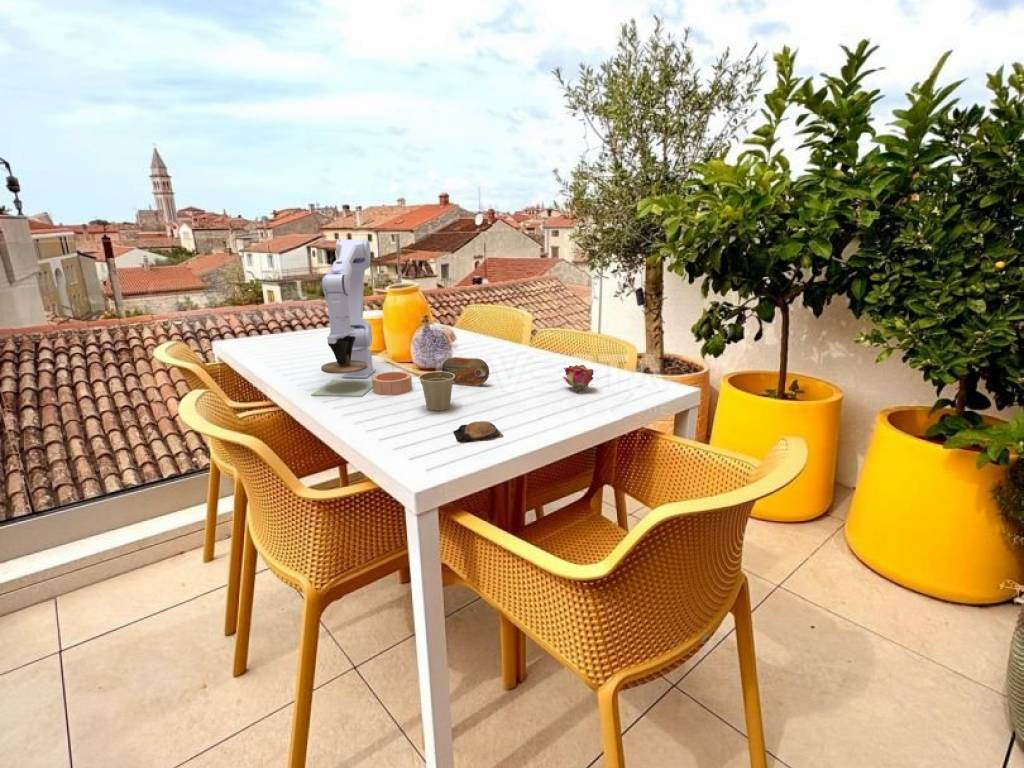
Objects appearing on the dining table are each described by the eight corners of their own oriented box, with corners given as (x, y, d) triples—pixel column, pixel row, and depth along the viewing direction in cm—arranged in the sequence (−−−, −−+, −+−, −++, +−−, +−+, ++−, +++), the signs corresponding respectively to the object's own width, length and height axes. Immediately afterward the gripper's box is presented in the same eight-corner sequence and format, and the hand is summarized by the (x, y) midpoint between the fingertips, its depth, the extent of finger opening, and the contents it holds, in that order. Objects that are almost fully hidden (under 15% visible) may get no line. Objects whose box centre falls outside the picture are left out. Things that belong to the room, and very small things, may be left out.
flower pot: (449, 414, 126) (448, 382, 124) (415, 412, 128) (413, 380, 126) (460, 402, 135) (459, 372, 133) (428, 400, 137) (426, 370, 135)
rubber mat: (333, 381, 156) (332, 379, 156) (379, 381, 155) (379, 380, 155) (311, 395, 142) (311, 394, 141) (362, 396, 141) (362, 395, 140)
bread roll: (494, 427, 119) (494, 413, 118) (505, 440, 112) (505, 425, 111) (450, 433, 116) (450, 418, 115) (459, 446, 108) (459, 430, 107)
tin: (441, 383, 153) (440, 356, 151) (446, 380, 156) (445, 354, 154) (487, 387, 149) (486, 360, 146) (490, 384, 152) (490, 358, 149)
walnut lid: (332, 362, 153) (331, 350, 152) (373, 363, 152) (372, 351, 151) (313, 373, 141) (312, 360, 140) (358, 373, 140) (357, 360, 139)
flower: (596, 390, 139) (598, 365, 142) (564, 384, 139) (567, 358, 141) (586, 400, 149) (589, 375, 151) (557, 394, 148) (560, 369, 150)
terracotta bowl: (380, 383, 153) (379, 371, 152) (415, 384, 152) (414, 371, 151) (368, 394, 142) (367, 381, 141) (405, 395, 142) (404, 381, 140)
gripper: (343, 321, 135) (348, 369, 139) (362, 313, 149) (366, 356, 153) (318, 320, 135) (323, 368, 139) (339, 312, 149) (343, 356, 153)
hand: (344, 362), depth 146 cm, fingers closed on walnut lid, 3 cm apart
